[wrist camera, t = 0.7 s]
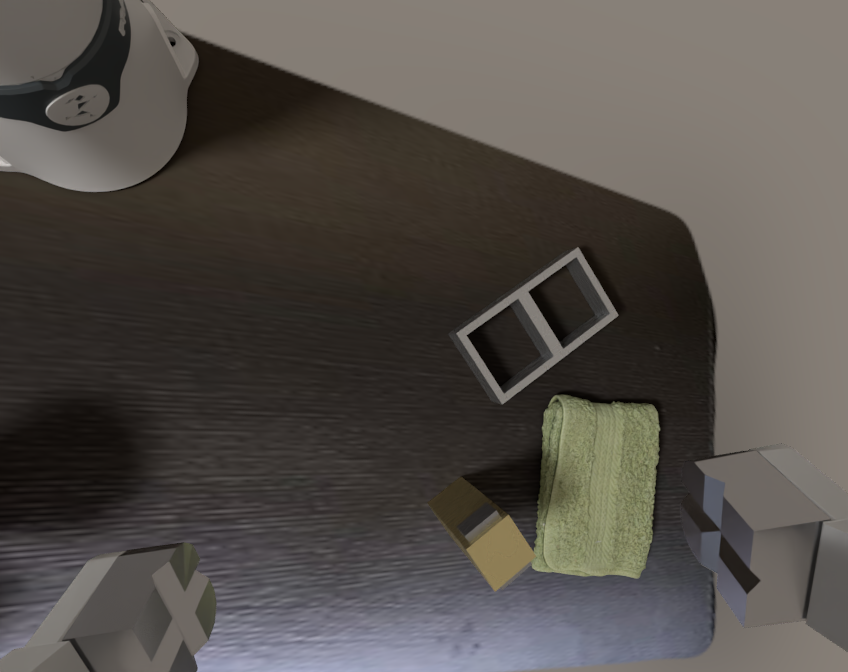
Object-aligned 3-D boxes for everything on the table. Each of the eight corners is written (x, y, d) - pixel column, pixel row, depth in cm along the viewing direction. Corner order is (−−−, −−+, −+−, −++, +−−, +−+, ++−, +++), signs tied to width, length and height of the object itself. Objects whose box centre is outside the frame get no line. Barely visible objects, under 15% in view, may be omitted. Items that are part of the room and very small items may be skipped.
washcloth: (523, 569, 50) (538, 584, 47) (540, 391, 51) (556, 394, 48) (636, 569, 53) (658, 583, 50) (651, 402, 54) (673, 405, 51)
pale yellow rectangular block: (423, 497, 47) (461, 543, 36) (457, 471, 48) (504, 508, 37) (453, 541, 48) (499, 598, 37) (486, 514, 49) (540, 562, 38)
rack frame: (448, 333, 48) (456, 333, 45) (564, 251, 51) (578, 246, 49) (491, 401, 49) (502, 404, 46) (603, 316, 52) (618, 315, 50)
